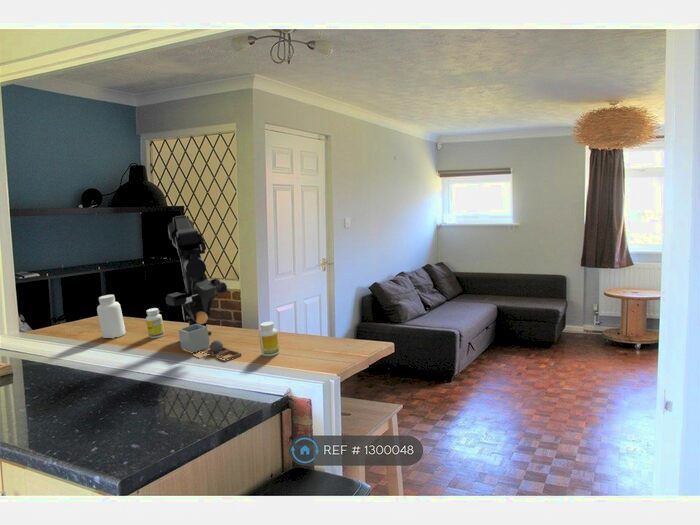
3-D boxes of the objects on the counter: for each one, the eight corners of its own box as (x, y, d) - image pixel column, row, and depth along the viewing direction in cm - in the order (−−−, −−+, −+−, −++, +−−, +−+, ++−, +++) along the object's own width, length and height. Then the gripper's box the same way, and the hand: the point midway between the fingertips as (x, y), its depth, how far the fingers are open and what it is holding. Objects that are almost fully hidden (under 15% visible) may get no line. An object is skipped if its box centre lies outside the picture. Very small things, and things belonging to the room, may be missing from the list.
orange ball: (193, 324, 177) (191, 312, 176) (204, 320, 179) (202, 309, 179) (199, 326, 174) (197, 314, 173) (210, 322, 177) (209, 310, 176)
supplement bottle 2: (258, 354, 171) (254, 324, 169) (273, 348, 174) (269, 319, 172) (268, 358, 167) (263, 327, 165) (283, 352, 170) (279, 322, 168)
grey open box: (181, 349, 182) (178, 329, 180) (199, 343, 186) (196, 323, 185) (191, 353, 177) (188, 332, 176) (210, 347, 181) (206, 326, 180)
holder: (205, 353, 176) (204, 351, 176) (220, 348, 180) (220, 345, 180) (225, 361, 167) (225, 359, 167) (241, 355, 171) (241, 353, 171)
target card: (191, 355, 176) (191, 354, 176) (200, 352, 178) (200, 351, 178) (199, 358, 172) (199, 357, 172) (208, 355, 174) (208, 354, 174)
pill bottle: (102, 335, 207) (94, 296, 204) (125, 330, 210) (118, 292, 207) (102, 341, 200) (94, 300, 197) (126, 336, 203) (119, 296, 200)
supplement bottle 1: (147, 336, 200) (142, 310, 198) (162, 332, 203) (157, 306, 201) (151, 339, 196) (147, 312, 194) (167, 335, 199) (162, 309, 197)
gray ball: (208, 353, 176) (206, 341, 175) (219, 349, 179) (217, 337, 178) (215, 355, 173) (213, 343, 172) (226, 351, 176) (224, 339, 175)
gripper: (179, 281, 161) (187, 333, 164) (233, 267, 174) (240, 314, 177) (160, 277, 169) (169, 326, 172) (214, 263, 181) (221, 309, 185)
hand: (201, 319), depth 176 cm, fingers closed on orange ball, 4 cm apart
